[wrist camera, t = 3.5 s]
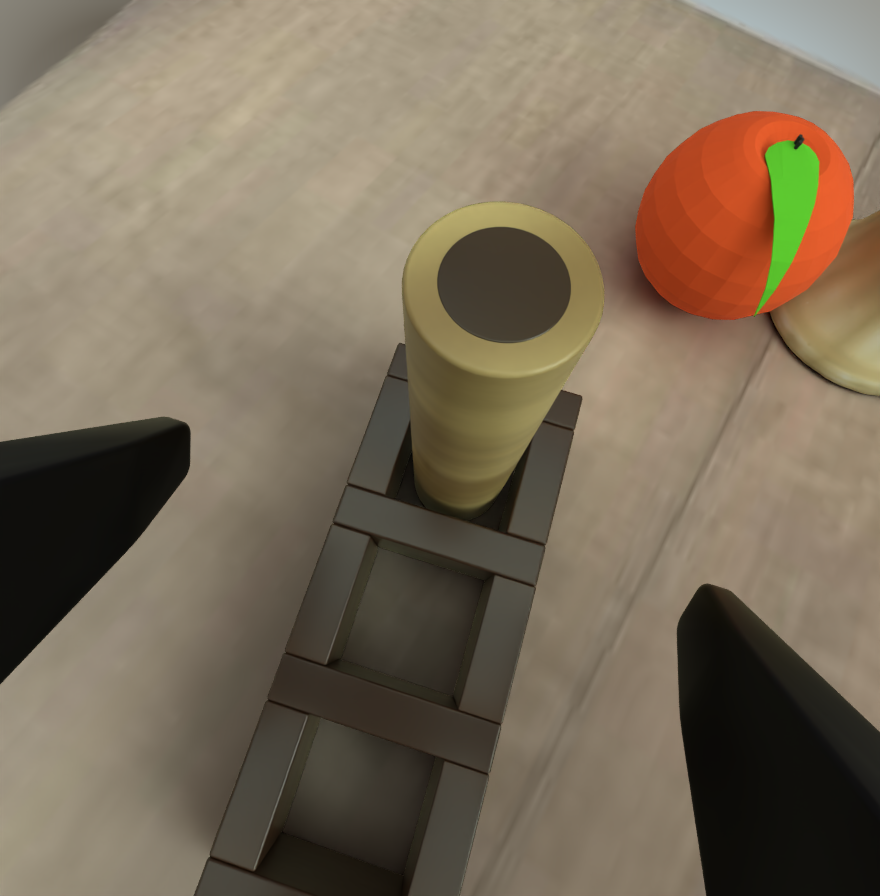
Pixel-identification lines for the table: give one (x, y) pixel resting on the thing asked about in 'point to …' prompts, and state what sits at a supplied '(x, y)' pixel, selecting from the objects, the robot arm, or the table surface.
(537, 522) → the rack
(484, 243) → the tan hollow tube
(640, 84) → the table surface
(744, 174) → the clementine
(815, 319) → the hand bell
